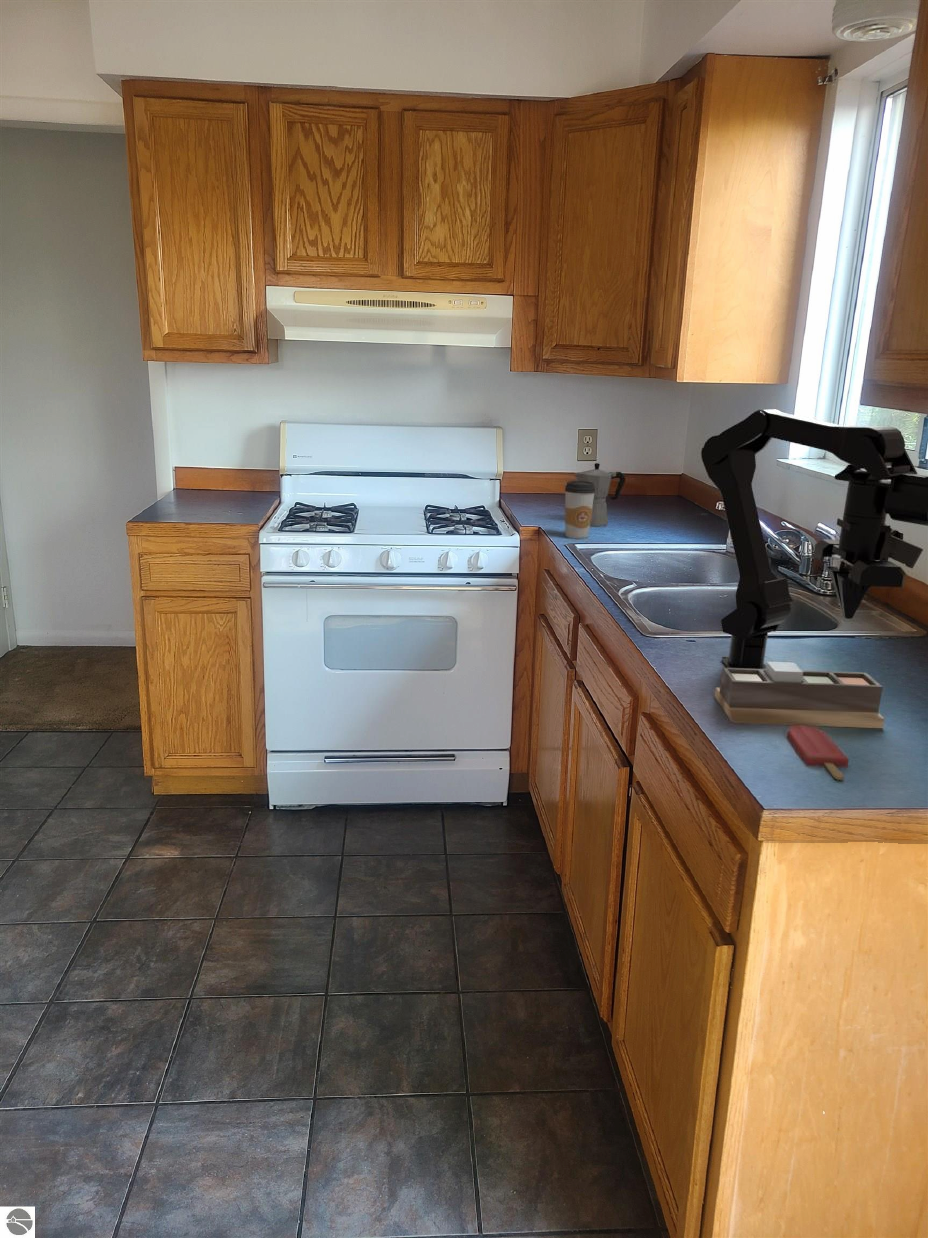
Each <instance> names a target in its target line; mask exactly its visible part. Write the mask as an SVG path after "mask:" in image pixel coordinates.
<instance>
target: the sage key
mask: <svg viewBox="0 0 928 1238" xmlns="http://www.w3.org/2000/svg"><path fill="white" fill-rule="evenodd" d="M803 678H804V679H805V680H806V681H807V682H808V683H828V684H834V683H833V682H832V681H831V680H830V679H829V678H828V677H820V676H803Z"/></svg>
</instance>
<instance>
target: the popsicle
mask: <svg viewBox="0 0 928 1238" xmlns="http://www.w3.org/2000/svg"><path fill="white" fill-rule="evenodd" d="M786 738H787V740H788V741H789V743H790V745H791V746H792V747H793V748H794V751H795V752H796V753H797V754H798V756H799V758H801V760H802V761H803V762H804V764H805V765H806V766H810V767H811V766H812V767H825V768H826V769H827V770H828V772H829V773H830V774H831V776H832V777H833V778H834V779H835V780H839V781H842V780H843V781H844V778H845V776H844V775H843V774H842V773H841V772H840V770H839V769H838V768H848V767H849V762H850V760H849V758H848V756H846V754H845V753H844V752H843V751H842V750H841V748H840V747H838V745H837V744H836V743H835V742H834V741H833V740H832V739H831V738H830V736H828V735H827V733H826V732H825V731H823V730H821V729H820V728H818V727H816V726H807V725H790V726H788V728H787V735H786Z"/></svg>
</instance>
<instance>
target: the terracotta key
mask: <svg viewBox="0 0 928 1238" xmlns="http://www.w3.org/2000/svg"><path fill="white" fill-rule="evenodd" d="M838 678H839V679H840V680H841V681H842V682H843V683H844V684H857V685H869V684H868V683H867V682H866V681H865V680H864V679H863V678H850V677H838Z"/></svg>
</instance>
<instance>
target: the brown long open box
mask: <svg viewBox="0 0 928 1238" xmlns="http://www.w3.org/2000/svg"><path fill="white" fill-rule="evenodd" d="M765 670H766V669H747V668H728V667H722V671H721V678H720V685H719V687H715V691H714V698H715V699H716V701H717V703H718V704H719V705H720V706H721V708H722V710H723V711H724V712H725V714H726V715H727V717H728V718H729V720H730V721H731V723H732V724H747V725H748V724H750V725H751V724H753V725H775V726H777V725H781V726H783V725H784V726H793V725H807V726H811V727H835V728H836V727H839V728H867V729H868V728H869V729H870V728H871V729H883V728H884V723H885V717H884V716H883V715H881V714H880V713H879V711H880V710H879V709H880V705H881V699H882V694H883V687H884V686H883V685H881V684H880V683H879V682H878V681H877V680H875V679H874V678H873V677H872V676H871V675H869V674H868V673H867V672H864V671H863V672H861V671H859V672H857V671H856V672H855V671H828V670H804V669H803V670H802V669H801V670H802V671H803V676H820V677H828V678H829V679H830V680H831V681H832V682H833V683H834V684H828V683H808V682H807V681H806V680H805V679H804V678H803V677H802V683H800V682H772V680H771V679H770V678H769V677H768V676H767V675H766V674H765ZM731 673H734V674H757V675H758V676H759V677H760V679H761V680H762V681H742V680H736V679H735V678H734V677H733V675H732V674H731ZM838 677H850V678H863V679H864V680H865V681H866V682H867V683H868V684H869V685H857V684H844V683H843V682H842V681H841V680H840V679H839V678H838Z"/></svg>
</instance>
